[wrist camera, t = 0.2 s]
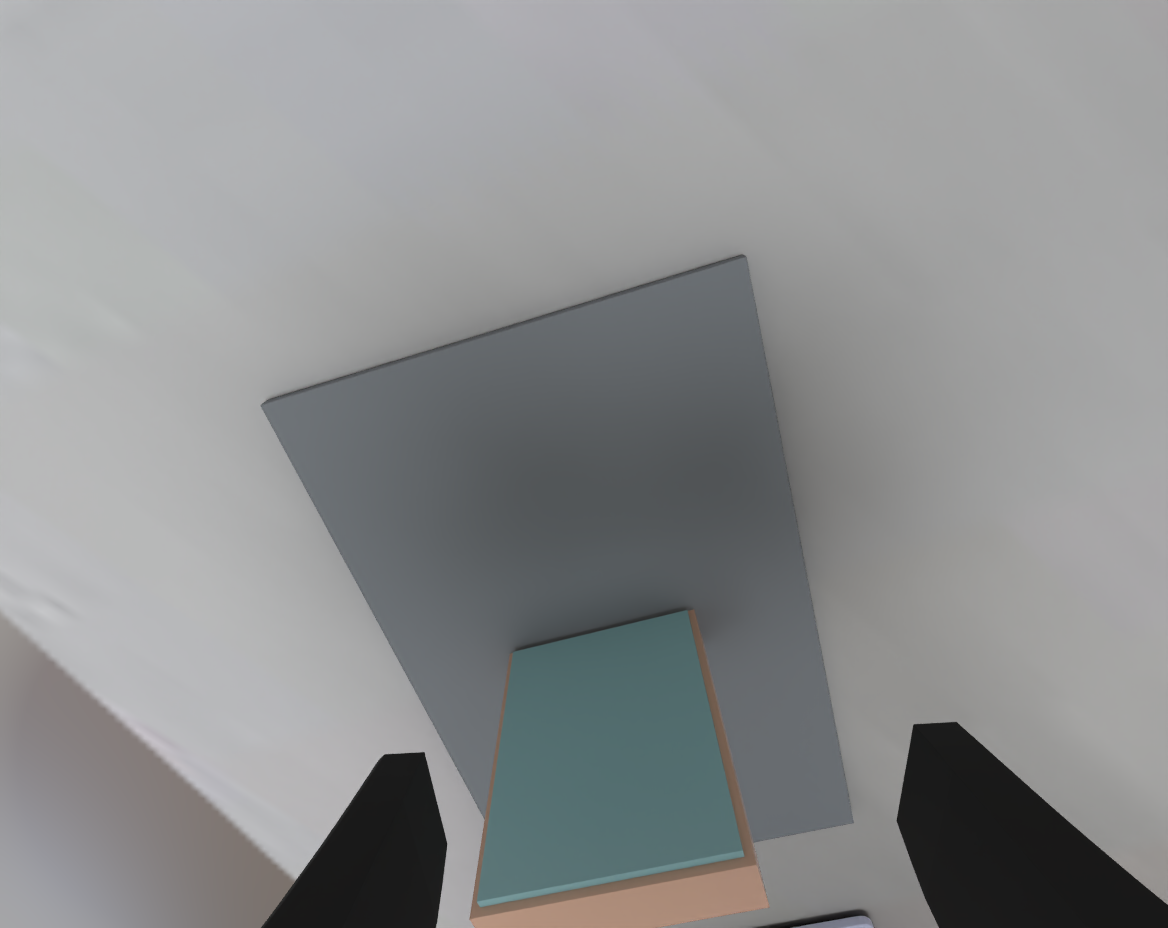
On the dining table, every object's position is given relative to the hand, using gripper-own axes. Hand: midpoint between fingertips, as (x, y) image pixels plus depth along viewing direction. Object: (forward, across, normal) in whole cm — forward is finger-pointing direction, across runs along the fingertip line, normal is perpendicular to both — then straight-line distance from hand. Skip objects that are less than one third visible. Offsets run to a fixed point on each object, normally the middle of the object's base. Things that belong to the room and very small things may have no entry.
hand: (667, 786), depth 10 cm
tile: (+10, +1, +5) cm, 11 cm away
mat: (+10, +1, +5) cm, 11 cm away
